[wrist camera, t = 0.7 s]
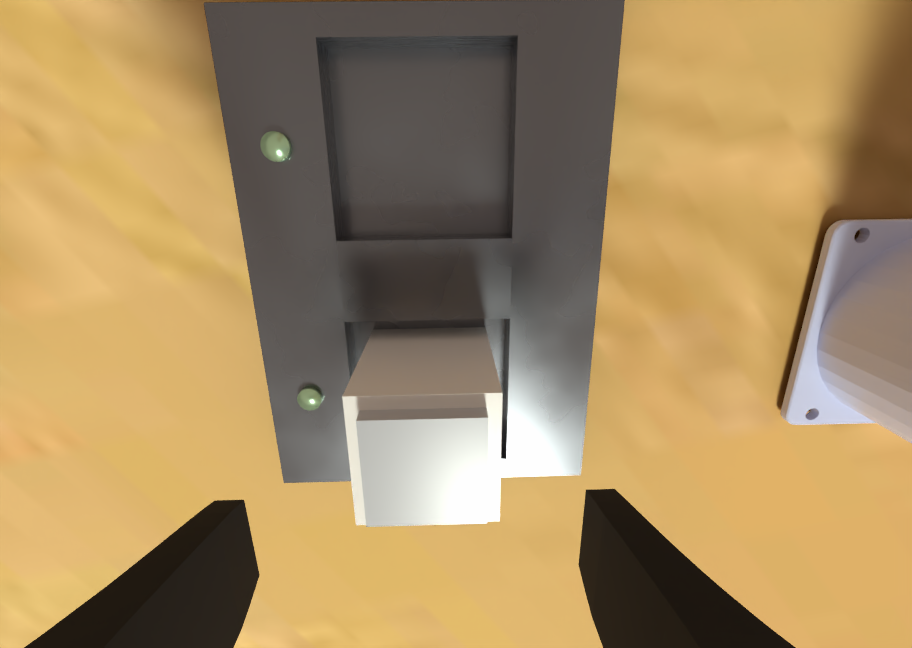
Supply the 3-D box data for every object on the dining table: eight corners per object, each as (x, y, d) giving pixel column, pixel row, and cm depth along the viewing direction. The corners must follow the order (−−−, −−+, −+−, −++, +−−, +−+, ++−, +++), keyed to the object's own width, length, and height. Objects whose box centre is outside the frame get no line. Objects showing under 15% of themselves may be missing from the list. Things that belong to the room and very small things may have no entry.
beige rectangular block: (485, 327, 16) (504, 402, 11) (484, 424, 17) (501, 534, 12) (373, 329, 16) (337, 406, 11) (380, 427, 17) (352, 539, 12)
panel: (599, 23, 14) (627, -4, 12) (566, 444, 18) (582, 478, 16) (237, 26, 13) (199, -1, 11) (300, 450, 18) (282, 486, 16)
